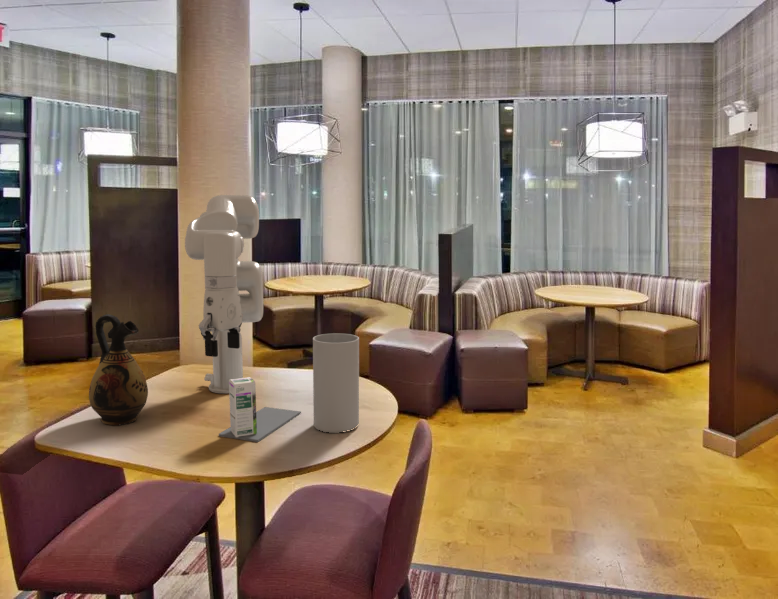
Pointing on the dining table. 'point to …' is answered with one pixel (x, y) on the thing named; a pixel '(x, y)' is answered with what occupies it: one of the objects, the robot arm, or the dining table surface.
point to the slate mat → (265, 423)
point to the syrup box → (242, 406)
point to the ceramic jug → (117, 376)
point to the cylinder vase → (336, 382)
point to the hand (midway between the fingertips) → (222, 351)
